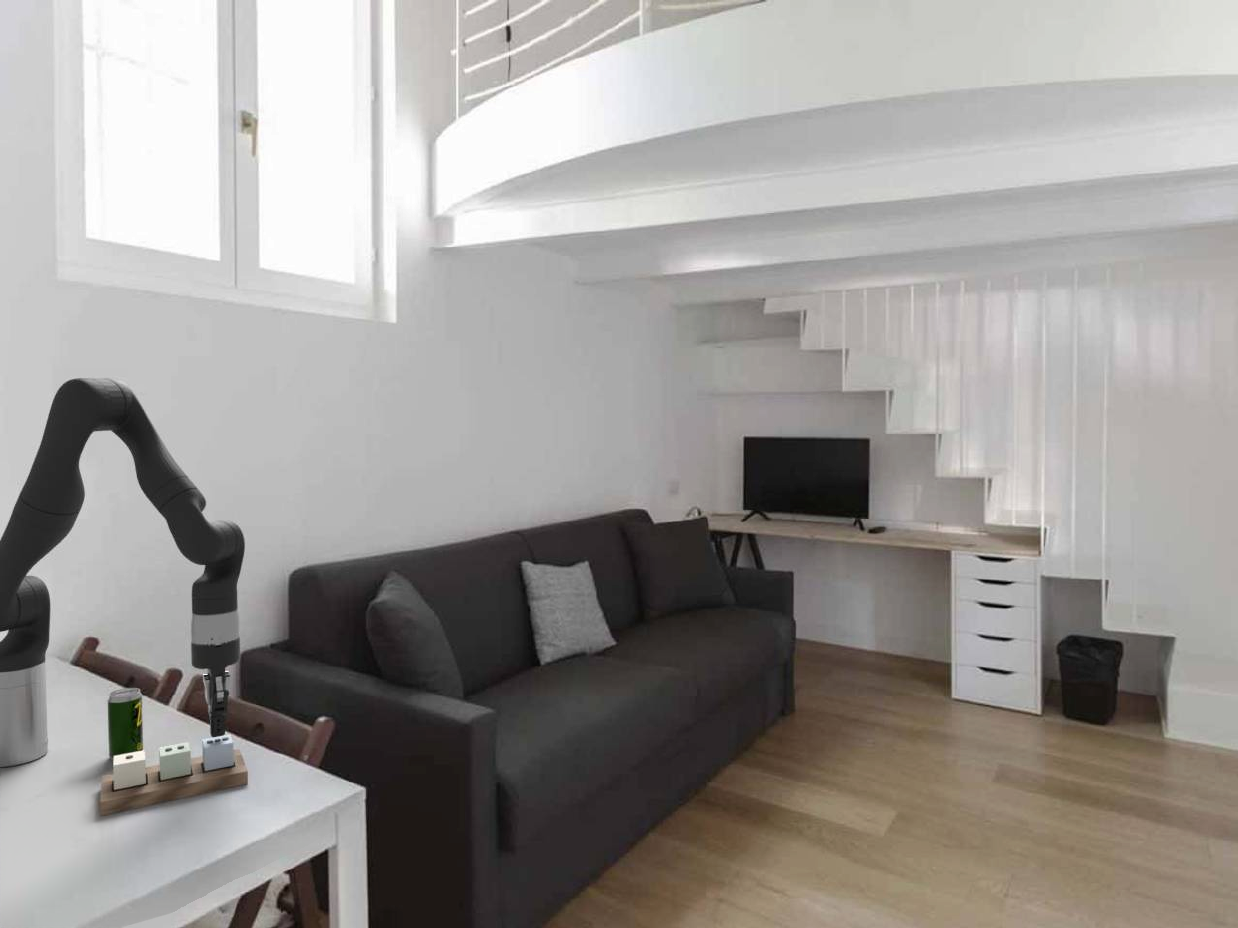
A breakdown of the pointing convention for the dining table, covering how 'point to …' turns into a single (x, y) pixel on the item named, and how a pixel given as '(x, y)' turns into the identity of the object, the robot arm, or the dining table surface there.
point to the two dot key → (175, 760)
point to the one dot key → (129, 769)
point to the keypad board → (171, 785)
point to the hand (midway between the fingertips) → (217, 735)
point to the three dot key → (217, 752)
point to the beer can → (125, 722)
